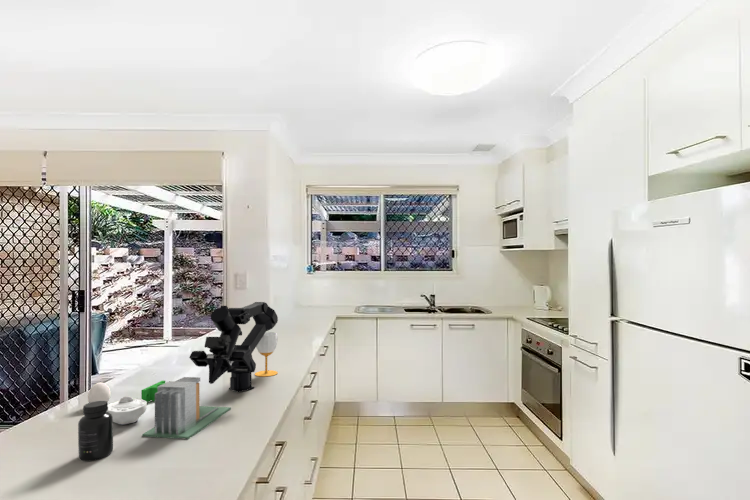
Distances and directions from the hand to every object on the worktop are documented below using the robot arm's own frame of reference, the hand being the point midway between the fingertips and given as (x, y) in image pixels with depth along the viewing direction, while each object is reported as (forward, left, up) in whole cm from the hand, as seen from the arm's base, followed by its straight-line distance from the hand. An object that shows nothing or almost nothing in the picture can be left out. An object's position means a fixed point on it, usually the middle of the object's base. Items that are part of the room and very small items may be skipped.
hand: (210, 383), depth 130 cm
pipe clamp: (+6, -24, -8) cm, 26 cm away
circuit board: (+9, +5, -8) cm, 13 cm away
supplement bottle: (+33, +8, -8) cm, 35 cm away
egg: (+20, -30, -8) cm, 37 cm away
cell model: (+20, -9, -8) cm, 24 cm away
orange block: (+10, +6, -7) cm, 13 cm away
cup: (-36, -20, -8) cm, 42 cm away
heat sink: (+9, +5, -8) cm, 13 cm away
